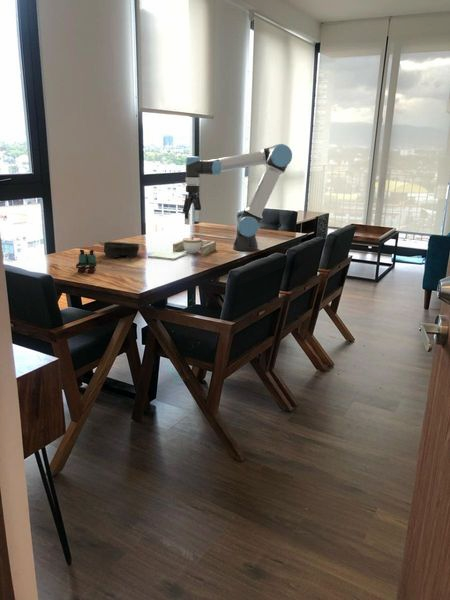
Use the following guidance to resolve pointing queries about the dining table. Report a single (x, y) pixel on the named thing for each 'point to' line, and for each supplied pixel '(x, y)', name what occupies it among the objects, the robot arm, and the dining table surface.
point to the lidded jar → (192, 244)
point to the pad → (167, 255)
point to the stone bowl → (120, 249)
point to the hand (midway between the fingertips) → (192, 222)
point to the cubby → (205, 248)
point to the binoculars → (86, 262)
